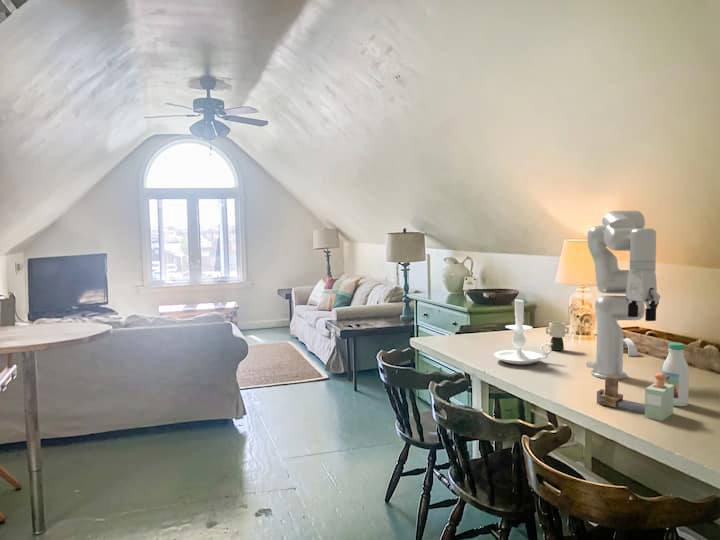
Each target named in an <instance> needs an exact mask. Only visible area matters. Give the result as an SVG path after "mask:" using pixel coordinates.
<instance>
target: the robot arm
mask: <svg viewBox="0 0 720 540" xmlns="http://www.w3.org/2000/svg"><path fill="white" fill-rule="evenodd" d="M601 219H602V220H601V224H602V225H598V226H597V225H596V226H593V227H591V228H590V229H588V231H587V237H586V238H587V239H586V240H587V247H588V250H589V252H590V255H591V257H592V260H593V262H594V271H595V272H594V273H595V281H596V287H597V289H598V291H599V293H602V294H608V295H603V296H600V297H598V298H597V299H596V300H595V302H594V310H595V317H596V359H595V360H596V361H595V362H592V361H587V362H586V365H585V366H586V367H587V368H590V369H591V368H592V370H591V375H592V376H595V377H597V378H600V379H605V377H606V376H609V375H610V376H616V377H618V380H624V379H627V377H628V374H627V373H626V372H625V371H624V345H623V339H625V338H624V335H625V334H624V330H623V327H621V326H620V325H619V323H618V322H619V321H640V320H642V319H643V318H644V316H645V321H646V322H655V321H657V309H658V305H659V302H660V299H661V295H660V294H659V293H658V292H657V290H658V289H657V288H658V287H657V275H656V265H657V264H656V263H657V261H656V260H657V257H656V256H657V255H656V254H657V232H656V230H655V229H653V228H646V227H645V225H646V220H645V216H644V214H643V213H642V212H641V211H639V210H612V211H609V212H607V213H605V214H604V215H603V217H602V218H601ZM612 251H615V252H616V251H618V252H621V251H623V252H625V251H629V269H619V263H618V258H617V256H616V255H615V254H614V253H613V252H612ZM609 294H610V295H609ZM612 294H613V295H612ZM616 294H617V295H616Z"/></svg>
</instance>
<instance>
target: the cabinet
mask: <svg viewBox="0 0 720 540" xmlns="http://www.w3.org/2000/svg"><path fill="white" fill-rule="evenodd" d="M673 403H674V385H671V384H666V383H664V389H662V388H656V382H654V383H652V384H651V385H649V386H647V387H645V393H644V404H645V414H644V418H647V419H650V420H655V421H660V422H663V421H664V420H666V419H668V418H669V417H671V416H672V415H673V414H674V406H673Z"/></svg>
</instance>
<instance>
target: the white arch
mask: <svg viewBox="0 0 720 540" xmlns="http://www.w3.org/2000/svg"><path fill="white" fill-rule="evenodd" d="M625 344H626V345H627V350H628V351H627V356H628V357H637V356H638V357H639V350H638V348H637V346H636V344H635V342H634V341H633V340H632V339H630V338H628V337H626V338H623V346H625Z"/></svg>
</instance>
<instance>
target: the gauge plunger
mask: <svg viewBox="0 0 720 540" xmlns="http://www.w3.org/2000/svg"><path fill="white" fill-rule="evenodd" d="M654 378H655V383H656V388H662V389H664V383H665V378H666V375H665V374H662V373H661V372H660V373H659V372H656V373H654Z"/></svg>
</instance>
